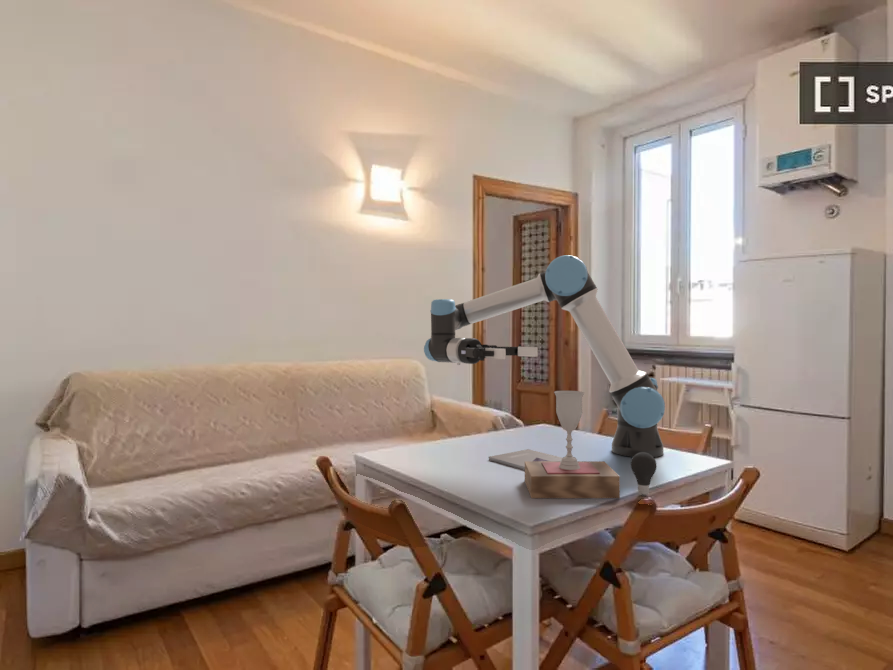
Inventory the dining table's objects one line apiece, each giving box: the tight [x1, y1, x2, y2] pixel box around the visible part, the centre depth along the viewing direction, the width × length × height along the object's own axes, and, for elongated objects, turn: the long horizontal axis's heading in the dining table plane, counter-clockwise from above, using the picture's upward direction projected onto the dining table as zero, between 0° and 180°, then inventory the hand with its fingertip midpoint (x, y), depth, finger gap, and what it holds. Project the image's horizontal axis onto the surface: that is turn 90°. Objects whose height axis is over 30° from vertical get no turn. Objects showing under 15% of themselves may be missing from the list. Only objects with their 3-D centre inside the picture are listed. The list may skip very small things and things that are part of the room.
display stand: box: [524, 460, 621, 499], centre depth 134 cm, size 20×14×5 cm
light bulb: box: [630, 452, 657, 497], centre depth 129 cm, size 6×6×10 cm
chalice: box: [553, 390, 585, 470], centre depth 134 cm, size 7×7×18 cm
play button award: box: [488, 448, 563, 471], centre depth 161 cm, size 16×2×20 cm
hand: (521, 352), depth 151 cm, fingers open, 13 cm apart
